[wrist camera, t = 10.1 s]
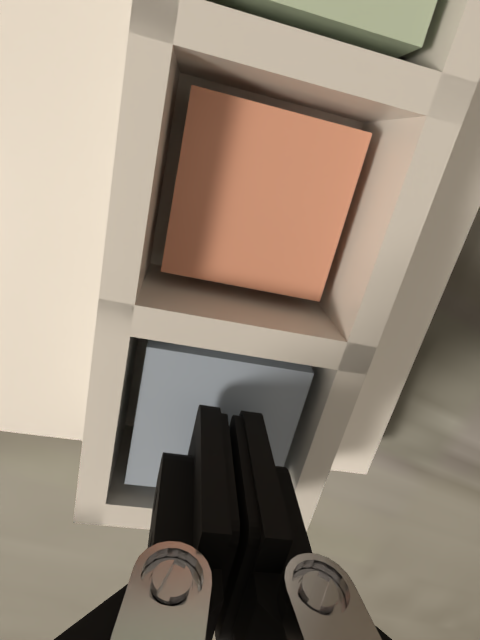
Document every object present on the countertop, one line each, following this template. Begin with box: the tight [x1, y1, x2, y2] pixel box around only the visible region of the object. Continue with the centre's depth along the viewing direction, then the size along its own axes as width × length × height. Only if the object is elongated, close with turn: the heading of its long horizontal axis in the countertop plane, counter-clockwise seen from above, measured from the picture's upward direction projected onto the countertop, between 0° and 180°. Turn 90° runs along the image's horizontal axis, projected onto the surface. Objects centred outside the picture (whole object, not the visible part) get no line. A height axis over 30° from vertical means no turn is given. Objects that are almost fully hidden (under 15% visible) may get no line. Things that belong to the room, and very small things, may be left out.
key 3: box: [161, 85, 372, 302], centre depth 12 cm, size 4×4×2 cm
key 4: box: [124, 340, 314, 487], centre depth 13 cm, size 4×4×2 cm
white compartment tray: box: [0, 0, 480, 532], centre depth 11 cm, size 25×14×6 cm, turn 167°
